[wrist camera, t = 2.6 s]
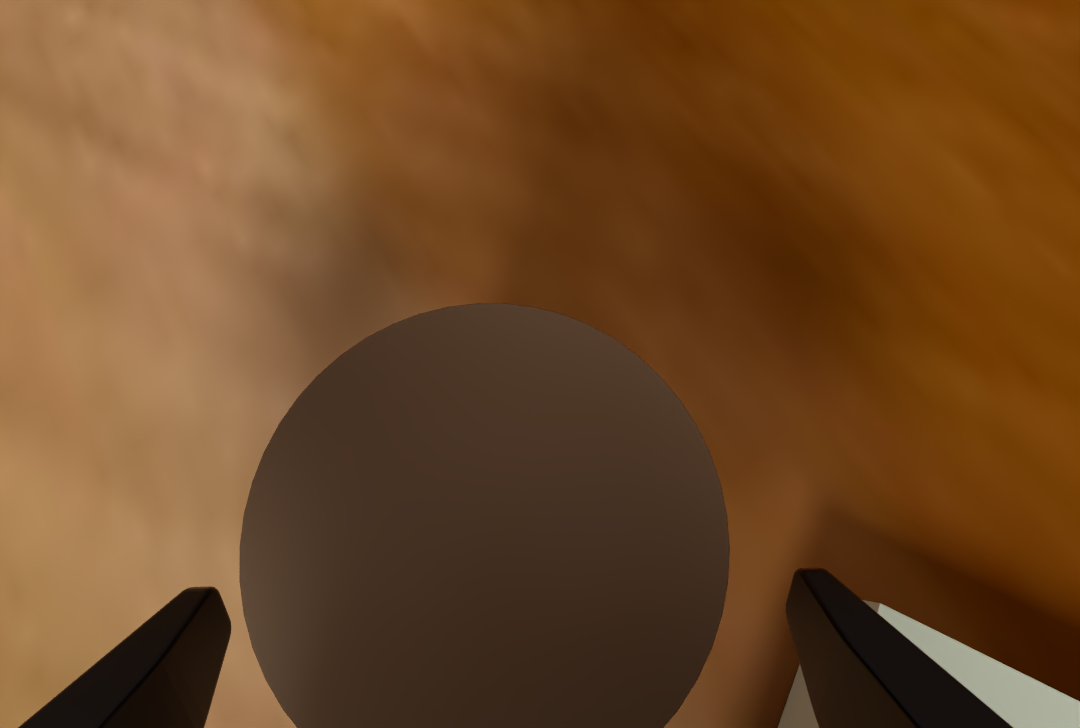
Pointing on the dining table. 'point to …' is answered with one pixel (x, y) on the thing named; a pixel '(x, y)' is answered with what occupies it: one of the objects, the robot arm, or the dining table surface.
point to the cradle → (962, 682)
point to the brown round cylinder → (484, 533)
